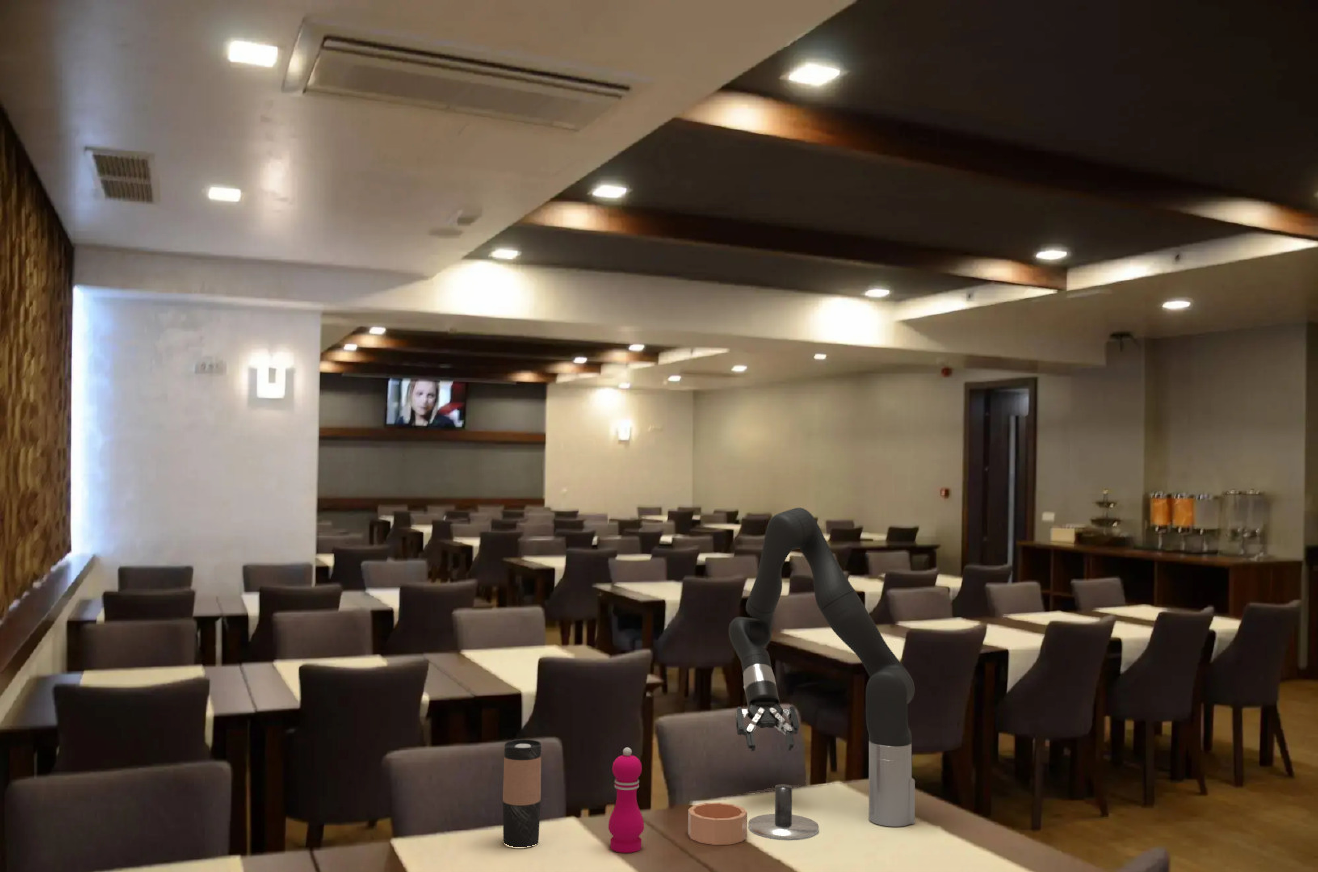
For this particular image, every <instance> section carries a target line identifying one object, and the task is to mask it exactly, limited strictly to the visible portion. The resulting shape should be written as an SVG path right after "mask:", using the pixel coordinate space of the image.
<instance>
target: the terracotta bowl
mask: <svg viewBox="0 0 1318 872" xmlns="http://www.w3.org/2000/svg"><path fill="white" fill-rule="evenodd" d="M687 811H688V812H687V813H688V815H687V817H688V819H687V821H688V822H687V834H688V837H689V839H691V840H693V841H695V842H697V843H700V844H707V845H713V846H723V845H724V846H725V845H735V844H738V843H742V842H744V840H746V838H748V811H747V810H746V809H745V808H744V807H742V806H739V805H738V804H734V803H726V802H703V803H699V804H694V805H692V806H691V807H690V808H688V810H687Z"/></svg>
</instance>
